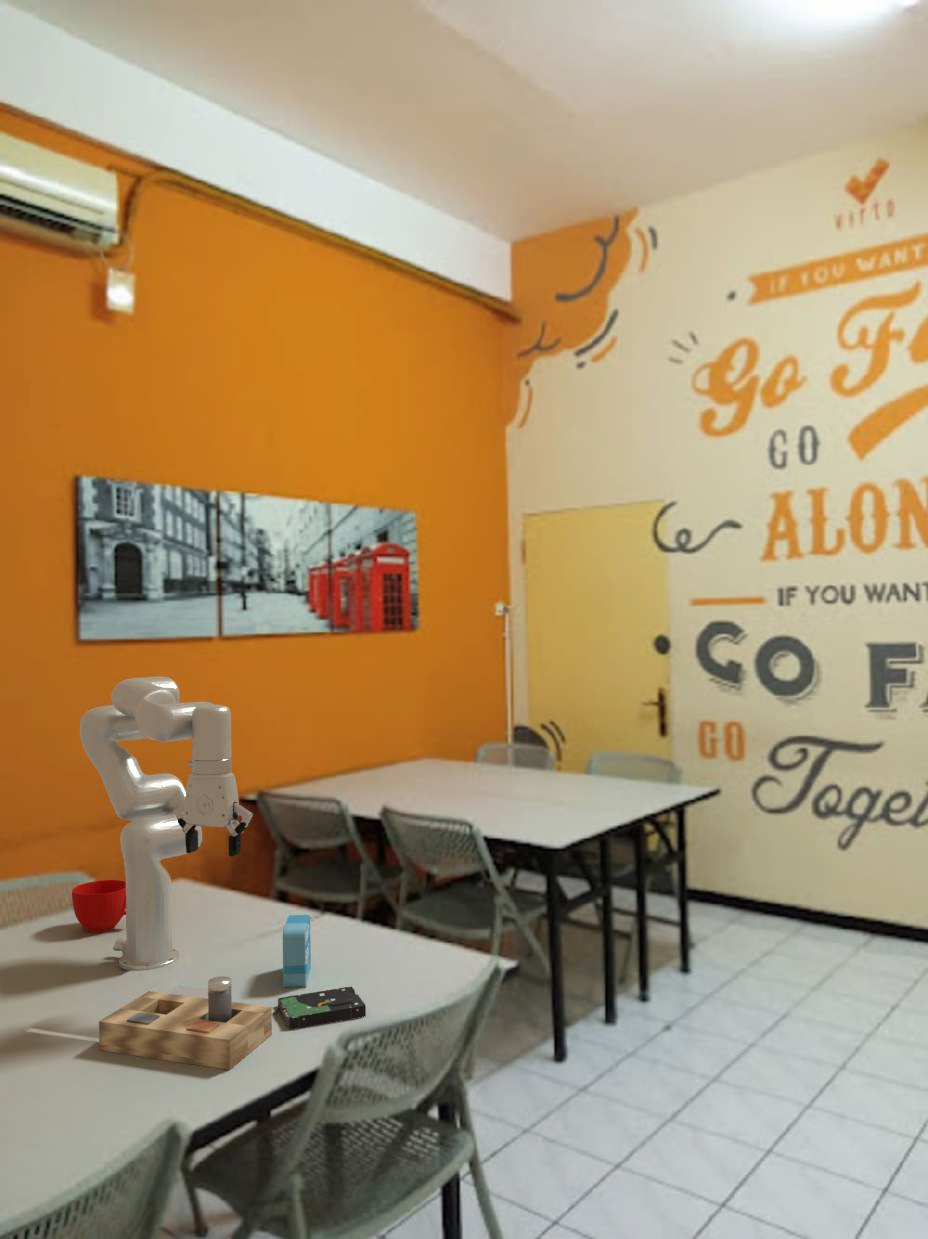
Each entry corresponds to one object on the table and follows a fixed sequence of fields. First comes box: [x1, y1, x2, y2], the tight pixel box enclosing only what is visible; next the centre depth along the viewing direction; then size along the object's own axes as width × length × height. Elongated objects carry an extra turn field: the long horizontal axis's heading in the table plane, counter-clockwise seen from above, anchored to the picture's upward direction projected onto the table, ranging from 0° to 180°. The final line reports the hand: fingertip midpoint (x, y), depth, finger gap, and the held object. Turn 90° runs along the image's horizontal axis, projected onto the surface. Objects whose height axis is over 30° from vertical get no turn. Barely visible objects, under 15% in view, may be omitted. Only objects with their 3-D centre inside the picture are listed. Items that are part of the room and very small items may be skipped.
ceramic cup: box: [71, 879, 126, 933], centre depth 233 cm, size 13×17×10 cm
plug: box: [207, 975, 233, 1023], centre depth 169 cm, size 4×4×10 cm
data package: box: [282, 914, 312, 988], centre depth 199 cm, size 12×4×12 cm, turn 4°
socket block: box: [98, 990, 273, 1071], centre depth 170 cm, size 26×14×5 cm, turn 72°
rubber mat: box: [166, 984, 208, 999], centre depth 188 cm, size 10×10×1 cm
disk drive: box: [277, 986, 367, 1030], centre depth 182 cm, size 10×3×15 cm
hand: (213, 853), depth 191 cm, fingers open, 9 cm apart
